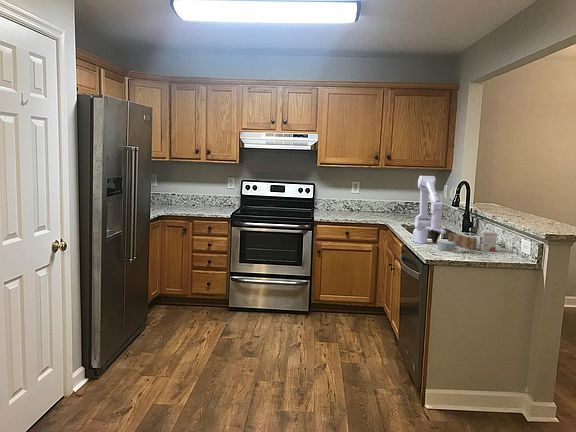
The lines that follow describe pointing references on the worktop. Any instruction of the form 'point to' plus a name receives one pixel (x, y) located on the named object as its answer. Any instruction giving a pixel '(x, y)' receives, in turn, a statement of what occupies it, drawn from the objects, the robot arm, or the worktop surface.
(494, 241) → the ink box
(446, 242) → the slate block
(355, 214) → the worktop surface
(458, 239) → the walnut board
